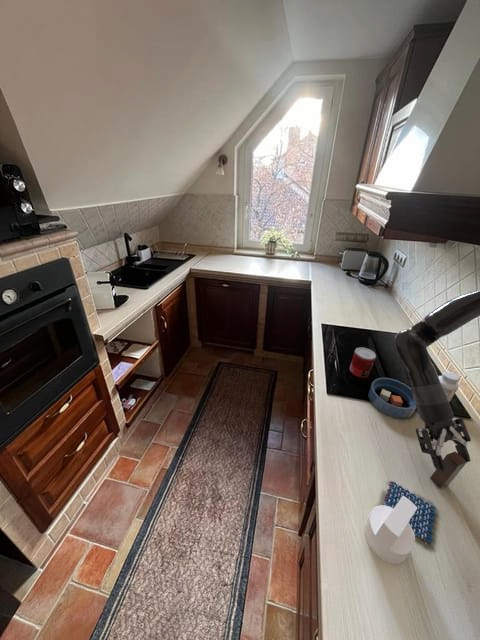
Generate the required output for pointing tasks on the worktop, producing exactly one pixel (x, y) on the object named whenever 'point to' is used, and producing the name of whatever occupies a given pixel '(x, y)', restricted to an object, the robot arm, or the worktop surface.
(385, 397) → the block
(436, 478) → the brown rectangular block
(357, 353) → the canned food
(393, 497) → the woven mat
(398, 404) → the block
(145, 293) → the worktop surface
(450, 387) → the supplement bottle
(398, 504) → the base with upright slab
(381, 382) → the bowl
